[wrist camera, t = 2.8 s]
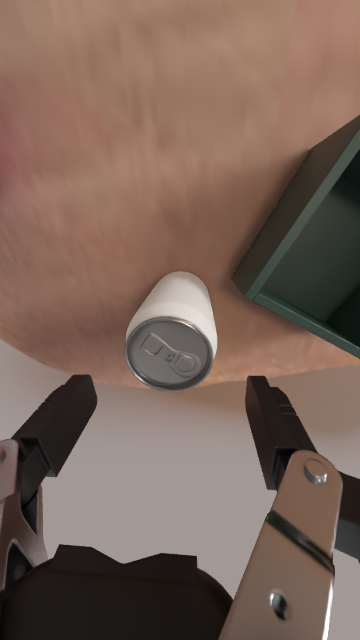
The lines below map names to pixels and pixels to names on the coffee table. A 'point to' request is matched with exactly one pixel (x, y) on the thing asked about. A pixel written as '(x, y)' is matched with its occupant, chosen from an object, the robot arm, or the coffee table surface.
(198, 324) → the can
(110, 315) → the coffee table surface
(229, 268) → the coffee table surface
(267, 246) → the bin
